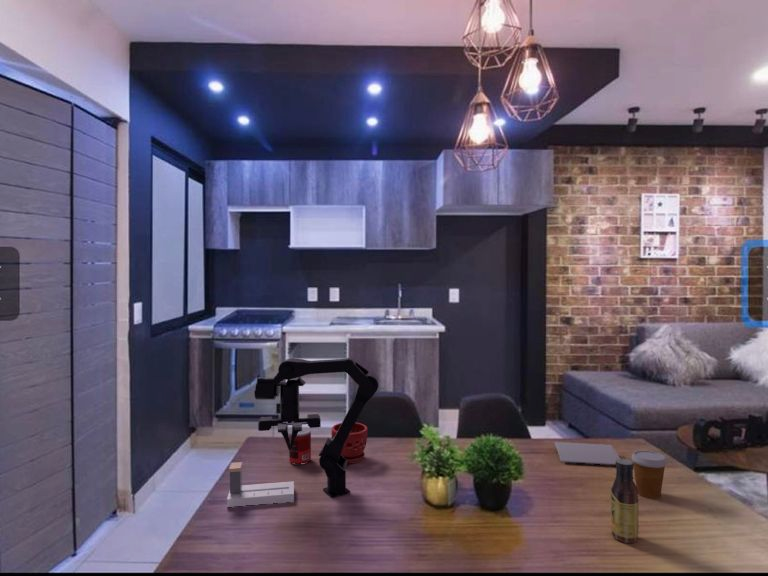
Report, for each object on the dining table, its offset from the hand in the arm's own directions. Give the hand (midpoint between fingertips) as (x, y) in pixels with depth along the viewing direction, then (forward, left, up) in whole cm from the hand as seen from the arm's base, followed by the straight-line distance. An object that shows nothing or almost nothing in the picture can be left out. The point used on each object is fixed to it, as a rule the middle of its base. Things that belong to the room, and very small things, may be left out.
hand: (290, 449), depth 151 cm
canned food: (+22, -12, -13) cm, 28 cm away
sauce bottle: (-71, -62, -13) cm, 95 cm away
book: (-31, -102, -14) cm, 108 cm away
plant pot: (+14, -28, -13) cm, 34 cm away
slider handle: (+3, +16, -10) cm, 19 cm away
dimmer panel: (0, +9, -13) cm, 16 cm away
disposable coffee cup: (-60, -92, -13) cm, 111 cm away
